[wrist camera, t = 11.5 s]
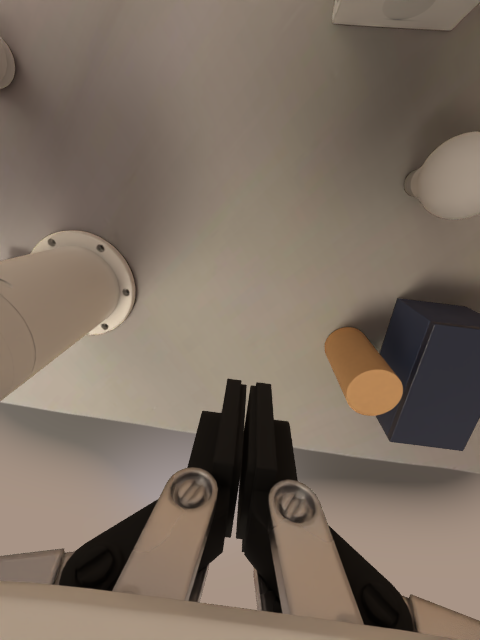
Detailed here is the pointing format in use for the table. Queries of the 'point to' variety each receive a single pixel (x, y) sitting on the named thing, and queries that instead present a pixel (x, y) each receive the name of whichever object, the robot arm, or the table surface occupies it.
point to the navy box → (433, 374)
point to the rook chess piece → (6, 65)
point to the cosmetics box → (403, 13)
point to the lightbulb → (449, 179)
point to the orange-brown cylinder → (362, 372)
